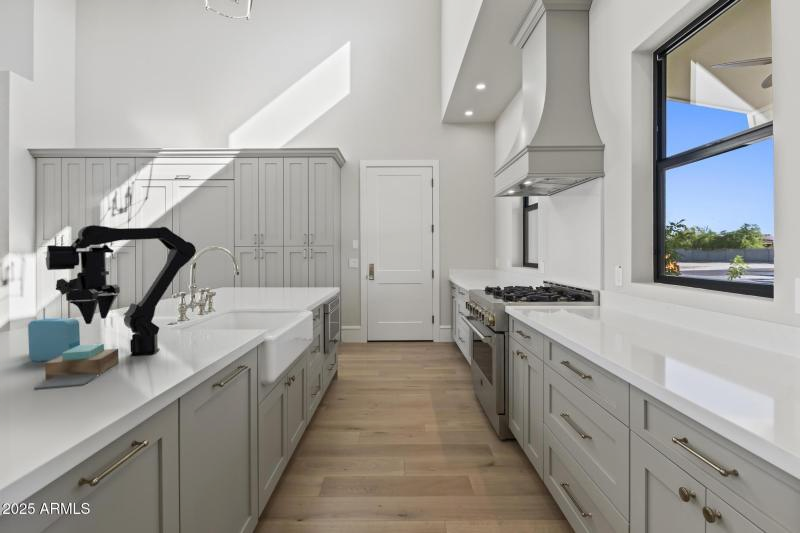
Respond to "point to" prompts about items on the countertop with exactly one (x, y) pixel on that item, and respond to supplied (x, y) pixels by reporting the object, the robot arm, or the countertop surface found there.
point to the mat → (67, 381)
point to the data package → (52, 338)
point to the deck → (82, 364)
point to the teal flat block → (83, 352)
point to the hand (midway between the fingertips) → (96, 321)
